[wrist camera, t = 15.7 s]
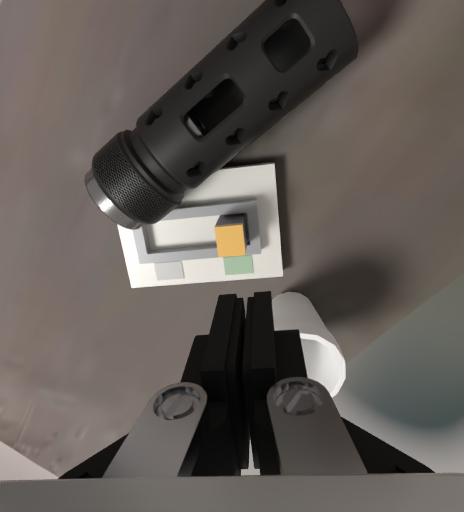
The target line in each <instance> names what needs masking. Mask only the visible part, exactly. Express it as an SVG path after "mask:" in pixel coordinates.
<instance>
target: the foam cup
mask: <svg viewBox="0 0 464 512" xmlns="http://www.w3.org/2000/svg"><path fill="white" fill-rule="evenodd" d="M272 309H273V320H274V331H278V330H295V329H299V333H300V338H301V344H302V349H303V355H304V360H305V366H306V371H307V377H308V378H310V379H312V380H315V381H318V382H319V383H320V384H322V385H323V386H325V388H326V389H327V390H328V392H329V393H330V395H331V398H332V397H333V396H334V395H336V394H337V393H338V391H339V389H340V387H341V386H342V384H343V382H344V380H345V377H346V376H345V359H344V357H343V354H342V351H341V348H340V346H339V345H338V343H337V342H336V340H335V339H334V337H333V335H332V334H331V333H330V332H328V330H327V328H326V327H325V325H324V323H323V322H322V320H321V318H320V317H319V315H318V313H317V312H316V310H315V308H314V307H313V305H312V303H311V302H310V300H309V299H308V298H307V297H305V296H304V295H302V294H300V293H296V292H286V293H282V294H279V295H278V296H277V297H275V298H274V299H273V300H272Z"/></svg>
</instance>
